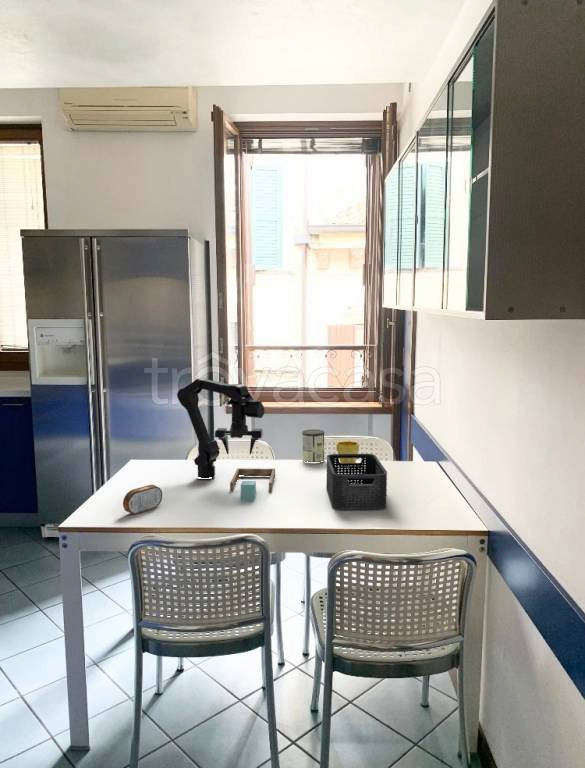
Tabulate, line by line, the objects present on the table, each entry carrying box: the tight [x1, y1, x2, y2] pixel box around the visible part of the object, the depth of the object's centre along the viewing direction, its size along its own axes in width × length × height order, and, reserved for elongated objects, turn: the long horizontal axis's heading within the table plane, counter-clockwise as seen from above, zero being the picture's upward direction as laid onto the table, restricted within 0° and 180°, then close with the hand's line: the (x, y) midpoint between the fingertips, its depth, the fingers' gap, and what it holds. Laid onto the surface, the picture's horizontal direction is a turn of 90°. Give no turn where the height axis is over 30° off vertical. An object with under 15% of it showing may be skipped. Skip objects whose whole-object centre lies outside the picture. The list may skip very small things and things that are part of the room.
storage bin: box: [326, 453, 388, 511], centre depth 210 cm, size 29×19×13 cm
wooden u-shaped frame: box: [229, 467, 276, 493], centre depth 229 cm, size 16×21×4 cm
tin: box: [122, 484, 163, 515], centre depth 197 cm, size 15×3×8 cm, turn 141°
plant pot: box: [335, 440, 360, 463], centre depth 258 cm, size 10×10×10 cm
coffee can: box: [301, 428, 325, 462], centre depth 263 cm, size 10×10×14 cm
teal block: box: [240, 480, 257, 502], centre depth 210 cm, size 5×5×6 cm
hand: (239, 454), depth 230 cm, fingers open, 9 cm apart
